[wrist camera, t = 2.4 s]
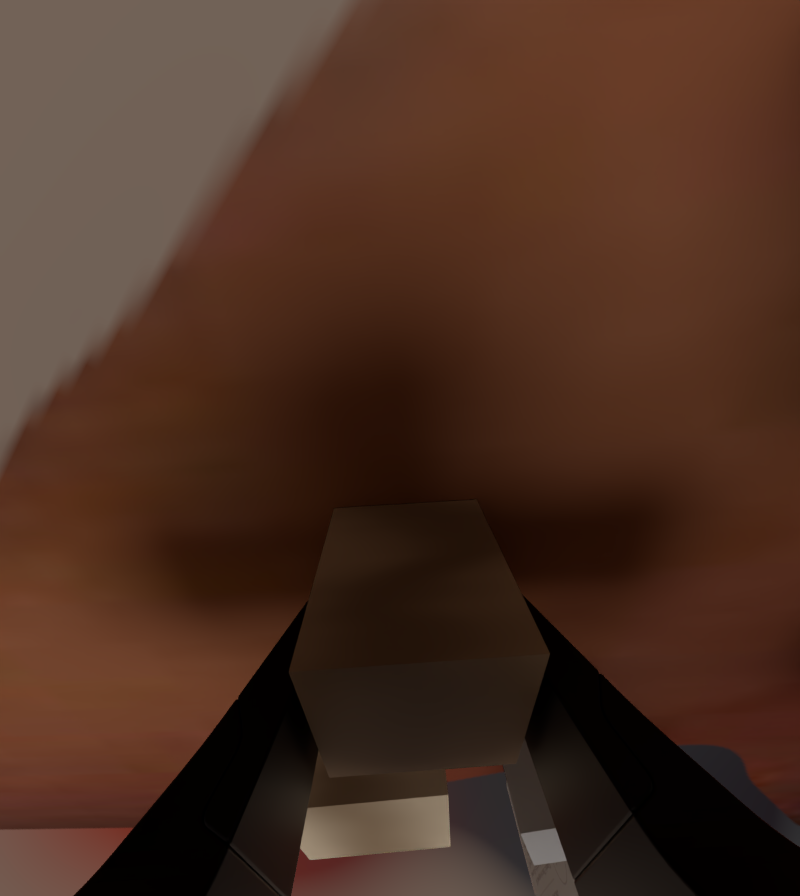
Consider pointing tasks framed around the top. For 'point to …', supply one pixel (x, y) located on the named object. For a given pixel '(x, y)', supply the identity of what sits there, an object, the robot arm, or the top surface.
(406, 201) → the top surface
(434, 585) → the walnut cube
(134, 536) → the top surface
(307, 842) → the maple block
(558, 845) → the grey cube
